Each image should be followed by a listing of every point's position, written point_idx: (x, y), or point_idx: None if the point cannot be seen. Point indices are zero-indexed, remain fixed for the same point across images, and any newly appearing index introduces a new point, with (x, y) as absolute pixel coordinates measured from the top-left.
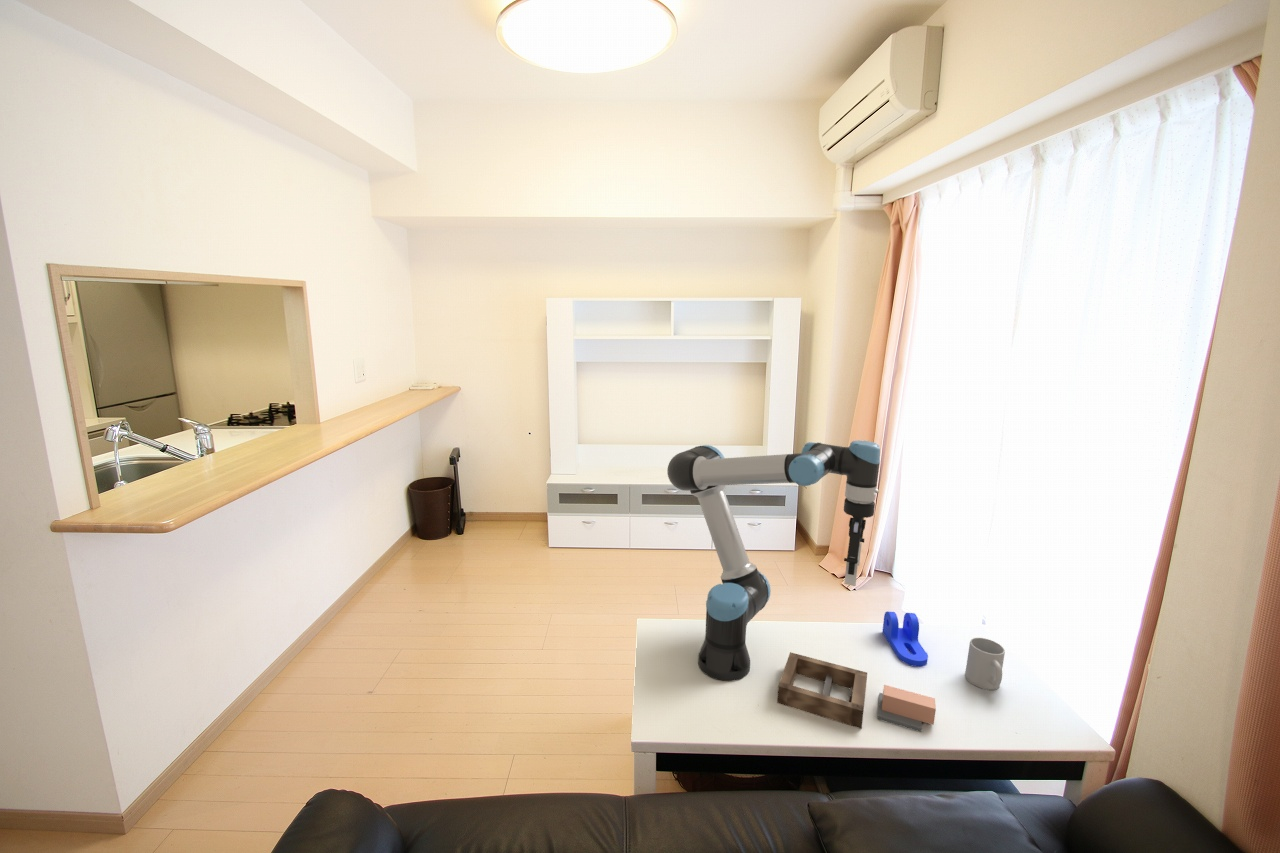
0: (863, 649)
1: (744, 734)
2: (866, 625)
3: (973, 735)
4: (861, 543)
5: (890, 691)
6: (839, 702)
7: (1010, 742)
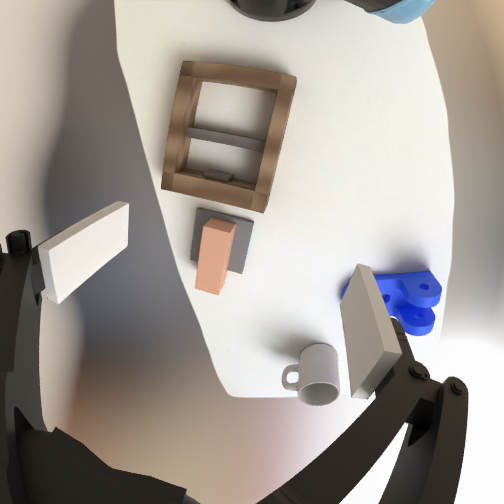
0: (381, 227)
1: (127, 42)
2: (447, 250)
3: (207, 311)
4: (360, 398)
5: (214, 238)
6: (169, 154)
7: (209, 339)
